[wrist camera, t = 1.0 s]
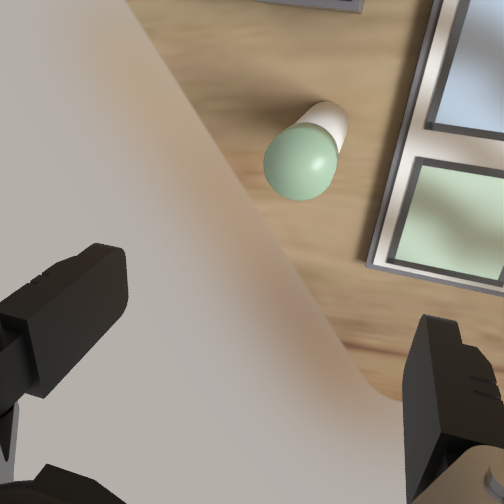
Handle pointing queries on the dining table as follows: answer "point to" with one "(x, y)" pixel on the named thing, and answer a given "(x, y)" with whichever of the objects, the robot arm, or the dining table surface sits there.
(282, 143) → the marker
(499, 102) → the picture board
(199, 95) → the dining table surface
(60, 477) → the robot arm
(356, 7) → the button housing
